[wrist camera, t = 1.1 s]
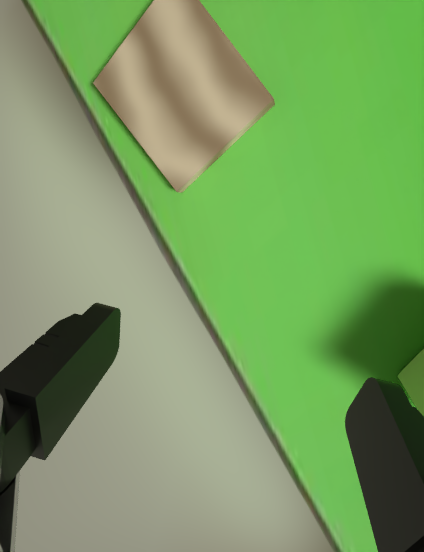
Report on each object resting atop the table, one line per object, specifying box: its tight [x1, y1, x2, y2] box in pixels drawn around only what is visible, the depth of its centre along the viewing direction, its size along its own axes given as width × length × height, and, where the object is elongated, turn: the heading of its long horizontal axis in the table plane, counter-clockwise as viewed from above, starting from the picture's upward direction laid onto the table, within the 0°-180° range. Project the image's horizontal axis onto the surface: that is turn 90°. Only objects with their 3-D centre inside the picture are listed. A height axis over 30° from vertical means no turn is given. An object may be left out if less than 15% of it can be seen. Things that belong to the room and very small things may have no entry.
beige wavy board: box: [93, 0, 275, 193], centre depth 29 cm, size 13×15×2 cm
